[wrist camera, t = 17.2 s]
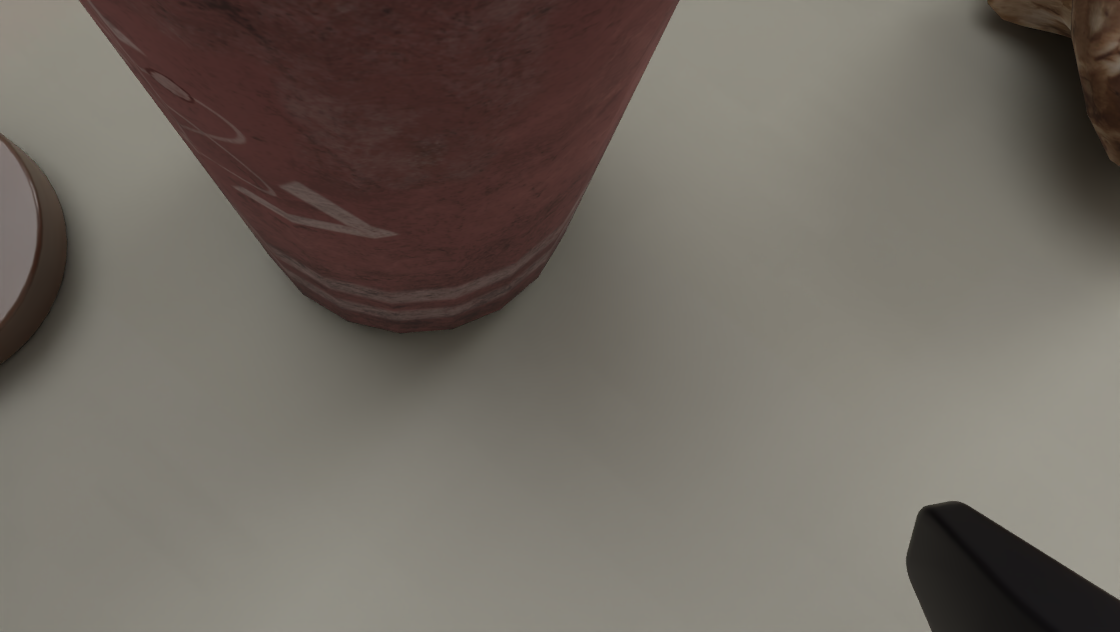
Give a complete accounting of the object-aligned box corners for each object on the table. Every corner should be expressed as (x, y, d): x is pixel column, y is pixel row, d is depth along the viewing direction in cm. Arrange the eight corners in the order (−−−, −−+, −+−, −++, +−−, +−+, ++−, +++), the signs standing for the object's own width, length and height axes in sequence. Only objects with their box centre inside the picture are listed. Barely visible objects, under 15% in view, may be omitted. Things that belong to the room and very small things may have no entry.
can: (542, 374, 18) (875, 15, 4) (213, 292, 17) (-621, -419, 4) (611, 89, 19) (1038, -905, 5) (305, 4, 19) (-67, -1324, 5)
